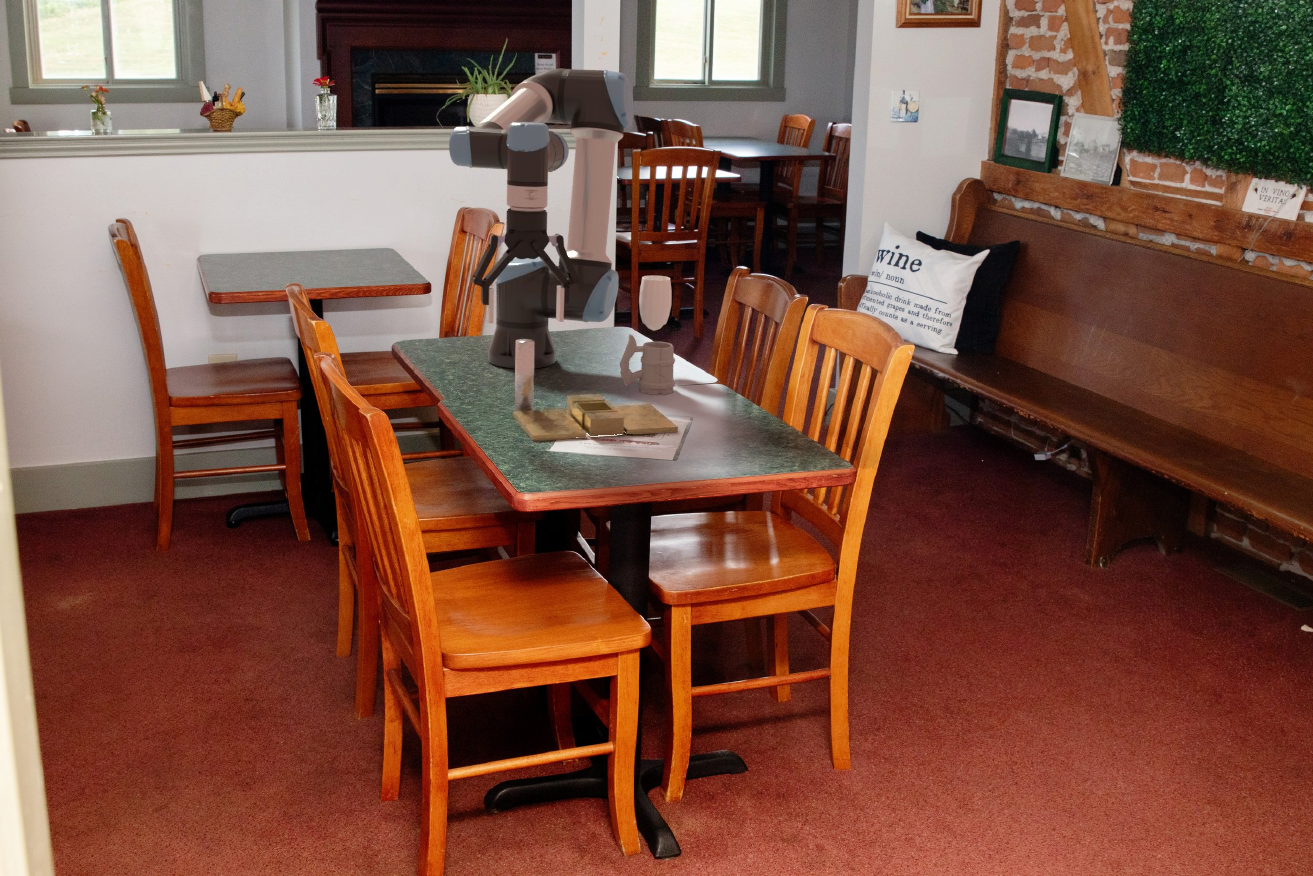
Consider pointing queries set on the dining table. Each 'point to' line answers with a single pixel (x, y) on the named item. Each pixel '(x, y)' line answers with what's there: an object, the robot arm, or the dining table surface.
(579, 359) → the dining table surface
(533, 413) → the fixed leaf
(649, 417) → the hinge flap with knuckles
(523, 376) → the pin
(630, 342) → the mug
